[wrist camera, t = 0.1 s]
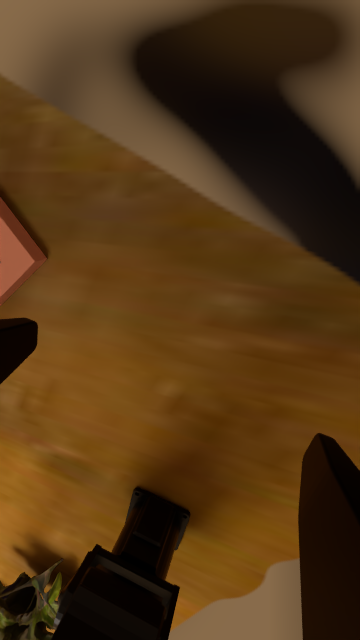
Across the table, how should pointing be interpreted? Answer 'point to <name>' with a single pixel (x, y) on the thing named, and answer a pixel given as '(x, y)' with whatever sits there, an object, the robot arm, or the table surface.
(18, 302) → the table surface
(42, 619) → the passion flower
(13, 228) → the switch bank
